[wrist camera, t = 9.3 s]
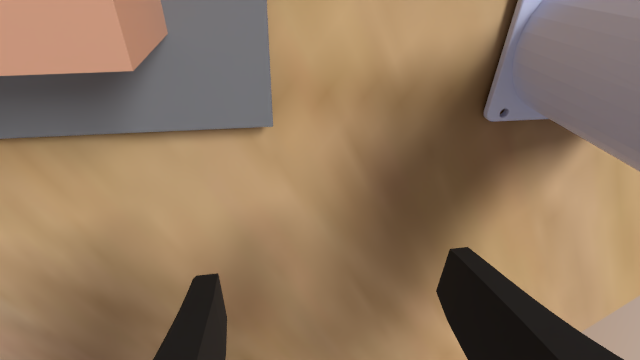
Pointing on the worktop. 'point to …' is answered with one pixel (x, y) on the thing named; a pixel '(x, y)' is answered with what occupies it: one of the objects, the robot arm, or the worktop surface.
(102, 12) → the cube
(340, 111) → the worktop surface
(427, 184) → the worktop surface
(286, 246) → the worktop surface
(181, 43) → the mat
